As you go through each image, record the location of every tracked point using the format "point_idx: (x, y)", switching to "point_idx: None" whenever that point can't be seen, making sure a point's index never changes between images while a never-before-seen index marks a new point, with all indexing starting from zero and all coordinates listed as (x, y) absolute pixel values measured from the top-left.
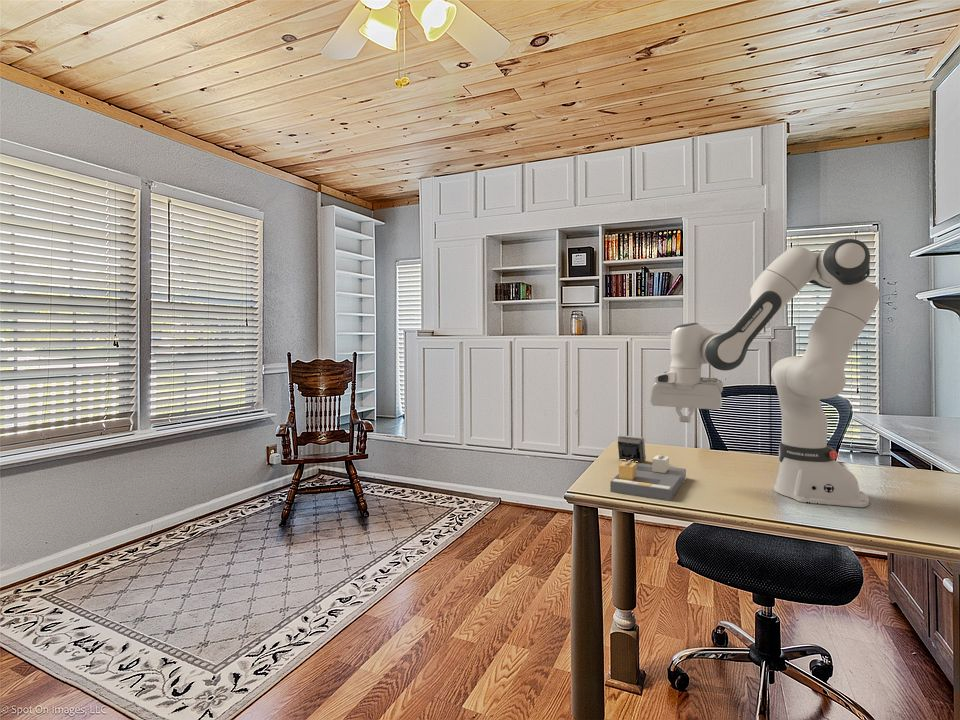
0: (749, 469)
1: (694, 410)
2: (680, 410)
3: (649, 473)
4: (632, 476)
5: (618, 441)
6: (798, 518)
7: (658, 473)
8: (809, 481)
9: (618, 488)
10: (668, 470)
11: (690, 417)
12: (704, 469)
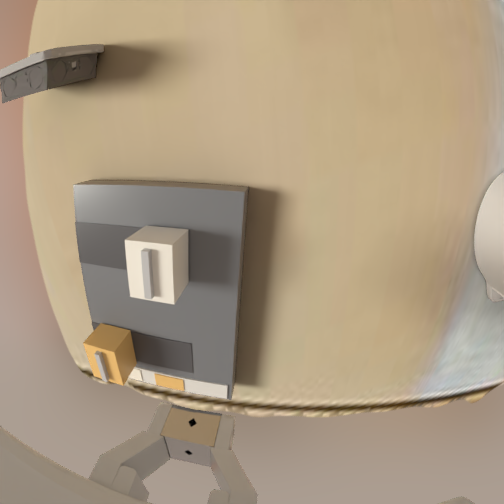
0: (429, 25)
1: (256, 498)
2: (148, 492)
3: None
4: (133, 368)
5: (3, 102)
6: (446, 378)
7: None
8: None
9: None
10: (189, 238)
11: (230, 443)
12: (301, 50)
